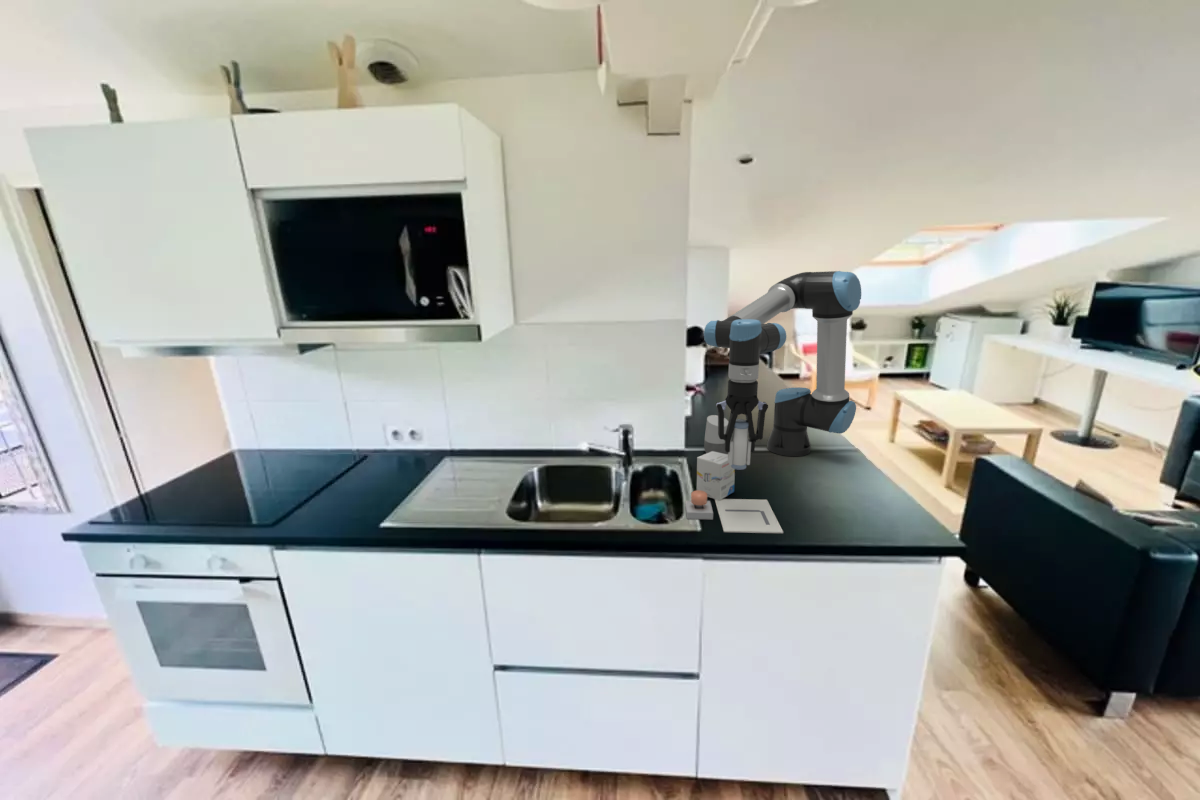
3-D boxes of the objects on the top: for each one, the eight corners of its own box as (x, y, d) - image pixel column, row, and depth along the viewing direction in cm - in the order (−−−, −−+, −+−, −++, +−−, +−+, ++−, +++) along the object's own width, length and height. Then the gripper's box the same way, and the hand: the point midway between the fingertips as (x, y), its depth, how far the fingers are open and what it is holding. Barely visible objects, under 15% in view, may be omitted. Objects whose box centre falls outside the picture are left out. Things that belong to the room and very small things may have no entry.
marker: (729, 463, 135) (731, 419, 132) (744, 463, 135) (747, 419, 131) (732, 469, 131) (734, 424, 128) (747, 469, 131) (750, 423, 127)
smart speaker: (718, 460, 172) (720, 423, 169) (698, 453, 179) (699, 417, 176) (735, 454, 178) (736, 417, 174) (714, 447, 185) (716, 412, 181)
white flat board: (714, 500, 144) (714, 498, 144) (766, 500, 142) (766, 499, 142) (723, 532, 127) (724, 530, 126) (783, 533, 125) (783, 531, 125)
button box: (685, 506, 140) (685, 500, 140) (709, 507, 140) (710, 500, 139) (687, 518, 134) (687, 512, 133) (712, 519, 133) (713, 512, 132)
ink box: (711, 484, 154) (712, 449, 151) (734, 492, 148) (736, 455, 145) (695, 493, 148) (696, 456, 145) (719, 501, 142) (720, 463, 139)
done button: (690, 504, 139) (690, 490, 137) (705, 504, 138) (706, 490, 137) (691, 511, 134) (691, 497, 133) (707, 511, 134) (708, 497, 133)
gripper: (711, 383, 124) (708, 468, 130) (780, 382, 122) (774, 468, 128) (708, 376, 131) (705, 457, 137) (772, 376, 129) (767, 458, 135)
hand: (738, 462), depth 133 cm, fingers closed on marker, 4 cm apart
